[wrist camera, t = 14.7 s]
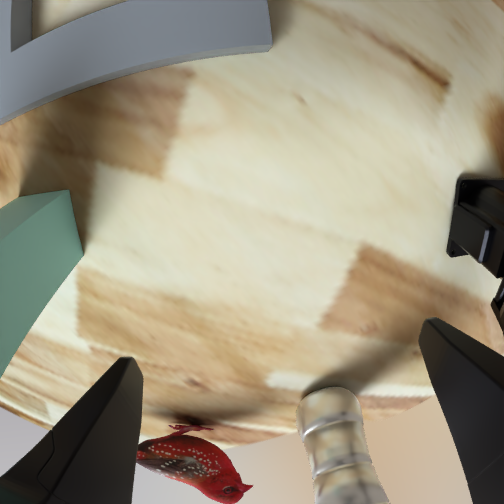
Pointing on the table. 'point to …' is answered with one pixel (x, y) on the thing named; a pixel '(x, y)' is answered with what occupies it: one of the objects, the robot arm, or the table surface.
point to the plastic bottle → (338, 448)
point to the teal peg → (33, 261)
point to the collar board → (118, 44)
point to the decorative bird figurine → (193, 464)
